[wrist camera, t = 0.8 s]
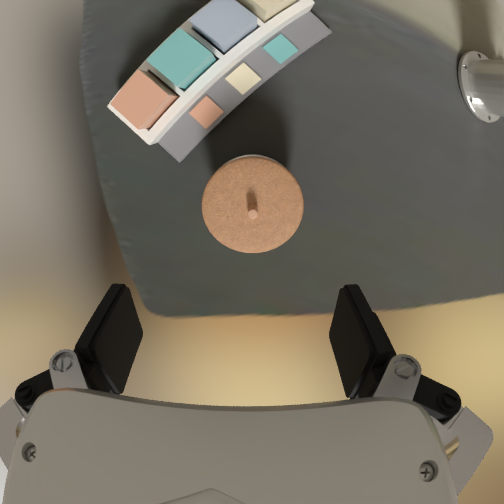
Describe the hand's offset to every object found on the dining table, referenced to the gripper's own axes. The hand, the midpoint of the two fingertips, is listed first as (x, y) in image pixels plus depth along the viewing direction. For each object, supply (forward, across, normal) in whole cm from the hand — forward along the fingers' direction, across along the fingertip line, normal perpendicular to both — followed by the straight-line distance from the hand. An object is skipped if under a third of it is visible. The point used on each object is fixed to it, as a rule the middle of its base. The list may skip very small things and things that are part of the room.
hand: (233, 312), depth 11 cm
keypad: (+25, +3, -15) cm, 30 cm away
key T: (+23, +6, -15) cm, 28 cm away
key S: (+23, +2, -19) cm, 30 cm away
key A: (+23, +11, -11) cm, 28 cm away
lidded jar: (+26, -1, +2) cm, 26 cm away
